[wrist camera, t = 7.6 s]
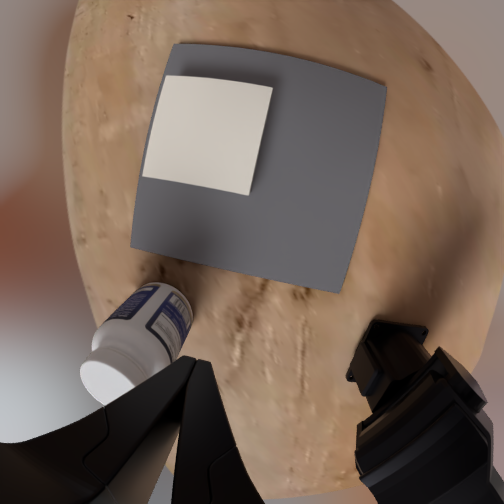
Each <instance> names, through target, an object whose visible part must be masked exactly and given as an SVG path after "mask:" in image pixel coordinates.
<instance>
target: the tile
mask: <svg viewBox="0 0 504 504" xmlns="http://www.w3.org/2000/svg"><path fill="white" fill-rule="evenodd" d="M272 92H273V88H272V87H267V86H261V85H256V84H250V83H243V82H237V81H229V80H221V79H213V78H202V77H189V76H169V75H166V77H165V81H164V84H163V88H162V91H161V95H160V98H159V102H158V106H157V109H156V113H155V117H154V121H153V126H152V130H151V134H150V139H149V143H148V148H147V153H146V158H145V164H144V169H143V175H142V176H144V177H150V178H157V179H163V180H169V181H175V182H181V183H186V184H192V185H197V186H203V187H208V188H213V189H218V190H223V191H228V192H233V193H238V194H243V195H248V196H249V195H250V192H251V187H252V182H253V178H254V173H255V169H256V164H257V160H258V155H259V151H260V146H261V142H262V138H263V133H264V129H265V124H266V120H267V116H268V111H269V107H270V103H271V98H272Z"/></svg>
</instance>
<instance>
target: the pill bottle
mask: <svg viewBox="0 0 504 504" xmlns="http://www.w3.org/2000/svg"><path fill="white" fill-rule="evenodd" d="M192 322H193V314H192V309H191V306H190V304H189V302H188V300H187V299H186V297H185V296H184V295H183V294H182V293H181V292H180V291H179V290H177V289H176V288H174V287H172V286H170V285H168V284H165V283H159V282H154V283H148V284H145V285H143V286H142V287H140V288H139V289H138V290H136V291H135V292H134V293H133V294H132V295H131V296H130V297H129V298H128V299H127V300H126V301H125V302H124V303H123V304H122V305H121V306H120V307H119V308H118V309H117V310H116V311H115V312H114V313H113V314H112V315H111V316H110V317H109V318H108V319H107V320H106V321H105V322H104V323H103V324H102V325H101V326H100V327H99V328H98V329H97V331H96V332H95V334H94V337H93V340H92V352H91V353H90V355H89V356H88V357H87V358H86V360H85V361H84V362H83V363H82V365H81V368H80V376H81V379H82V382H83V384H84V386H85V387H86V389H87V390H88V391H89V393H90V394H91V395H92V396H93V397H94V398H95V399H97V400H98V401H99V402H100V403H102V404H103V405H107V404H108V403H110V402H112V401H113V400H115V399H117V398H118V397H120V396H121V395H123V394H125V393H126V392H128V391H129V390H131V389H133V388H134V387H136V386H137V385H139V384H140V383H142V382H144V381H145V380H147V379H148V378H150V377H151V376H153V375H154V374H156V373H157V372H159V371H161V370H162V369H164V368H165V367H167V366H168V365H170V364H171V363H173V362H174V361H176V359H177V357H178V355H179V352H180V350H181V348H182V346H183V344H184V342H185V339H186V337H187V335H188V333H189V331H190V328H191V326H192Z"/></svg>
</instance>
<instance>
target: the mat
mask: <svg viewBox="0 0 504 504" xmlns="http://www.w3.org/2000/svg"><path fill="white" fill-rule="evenodd" d="M166 75H169V76H189V77H202V78H213V79H221V80H229V81H237V82H243V83H250V84H256V85H261V86H267V87H272V88H273V92H272V98H271V103H270V107H269V111H268V116H267V120H266V124H265V129H264V133H263V138H262V142H261V146H260V151H259V155H258V160H257V164H256V169H255V173H254V178H253V182H252V187H251V192H250V195H249V196H248V195H243V194H238V193H233V192H228V191H223V190H218V189H213V188H208V187H203V186H197V185H192V184H186V183H181V182H175V181H169V180H163V179H157V178H150V177H144V176H142V175H143V169H144V164H145V158H146V153H147V148H148V143H149V139H150V134H151V130H152V126H153V121H154V117H155V113H156V109H157V106H158V102H159V98H160V95H161V91H162V88H163V84H164V81H165V77H166ZM386 92H387V87H386V86H383V85H381V84H378V83H376V82H373V81H371V80H368V79H365V78H363V77H360V76H357V75H354V74H351V73H349V72H346V71H342V70H339V69H336V68H333V67H330V66H326V65H323V64H319V63H315V62H312V61H308V60H304V59H300V58H295V57H291V56H286V55H281V54H276V53H271V52H265V51H259V50H252V49H245V48H237V47H228V46H217V45H201V44H174V45H173V47H172V50H171V53H170V56H169V59H168V62H167V65H166V68H165V71H164V74H163V77H162V81H161V84H160V87H159V91H158V94H157V98H156V102H155V105H154V109H153V113H152V117H151V121H150V125H149V130H148V134H147V139H146V143H145V148H144V153H143V158H142V164H141V169H140V175H139V181H138V187H137V194H136V201H135V208H134V216H133V225H132V235H131V245H130V247H132V248H136V249H140V250H144V251H148V252H152V253H156V254H160V255H164V256H168V257H173V258H177V259H181V260H185V261H190V262H194V263H198V264H202V265H207V266H211V267H216V268H220V269H224V270H229V271H233V272H238V273H242V274H247V275H251V276H256V277H261V278H265V279H270V280H275V281H279V282H284V283H289V284H294V285H298V286H303V287H308V288H313V289H318V290H323V291H328V292H333V293H338V294H339V293H340V291H341V288H342V285H343V282H344V279H345V275H346V272H347V269H348V266H349V263H350V260H351V256H352V253H353V250H354V246H355V243H356V239H357V236H358V232H359V229H360V225H361V221H362V217H363V213H364V210H365V206H366V201H367V197H368V193H369V189H370V184H371V180H372V175H373V171H374V166H375V161H376V156H377V151H378V145H379V140H380V134H381V128H382V121H383V115H384V108H385V100H386Z"/></svg>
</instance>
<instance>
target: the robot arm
mask: <svg viewBox="0 0 504 504" xmlns="http://www.w3.org/2000/svg"><path fill="white" fill-rule="evenodd" d="M376 324H377V326H376V327H374V326H375V325H376ZM423 331H424V332H423ZM427 334H428V329H427V328H426V327H425V326H418V325H411V324H404V323H397V322H390V321H383V320H373V321H372V322H371V323H370V325H369V327H368V329H367V332H366V334H365V336H364V338H363V341H362V342H361V343H360V344H359V346H358V349H357V351H356V353H355V355H354V357H353V359H352V361H351V363H350V368H349V370H348V372H347V374H346V379H347V381H349V382H356V383H357V385H358V388H359V390H360V393H361V395H362V396H366V399H367V401H368V404H369V406H370V409H371V411H372V413H373V414H372V415H371V416H369V417H368V418H367V419H366V420H364V421H361V422H360V423H359V424H358V425H357V436H356V450H355V454H354V455H355V463H356V469H357V470H358V472H359V474H360V477H359V479H360V480H361V481H362V482H363V483H364V484H365V485H366V486H367V487H368V488H369V490H370V491H371V492H372V494H373V495H374V497H375V499H376V500H377V502H378V504H504V481H503V480H502V478H501V477H500V475H499V474H498V472H497V471H496V469H495V468H494V466H493V423H492V421H491V420H490V418H489V417H488V416H487V414H486V413H485V412H484V411H483V409H482V408H483V407H484V406H485V405H486V404H487V403H488V402H487V400H486V398H485V396H484V394H483V392H482V390H481V388H480V386H479V384H478V383H477V381H476V380H475V379H474V378H473V377H472V375H471V374H470V373H469V372H468V371H467V370H466V369H465V368H464V367H463V366H462V365H461V364H460V363H459V362H458V361H457V360H455V359H454V358H453V357H452V356H451V355H449V354H448V353H447V352H446V351H445V350H443V349H442V348H441V347H440V346H439V347H438V348H437V349H436V350H435V351H434V352H435V353H434V354H433V356H431V355H430V354H429V353H428V351H427V350H426V349H425V348H424V347H423V345H422V344H423V342H424V340H425V338H426V336H427ZM350 376H352V377H350ZM178 433H179V438H178V445H177V453H176V462H175V470H174V480H173V489H172V499H171V504H265V503H264V501H263V500H262V498H261V496H260V495H259V493H258V491H257V490H256V488H255V486H254V484H253V482H252V481H251V479H250V477H249V475H248V473H247V471H246V468H245V466H244V463H243V461H242V459H241V456H240V453H239V450H238V448H237V447H236V442H235V439H234V436H233V433H232V430H231V427H230V424H229V421H228V418H227V415H226V412H225V408H224V405H223V402H222V399H221V395H220V392H219V389H218V385H217V382H216V378H215V375H214V371H213V368H212V364H211V362H209V361H205V360H201V359H198V360H196V358H193V357H189V356H185V355H184V356H182V357H180V358H179V359H177V360H176V361H174V362H173V363H171V364H170V365H168V366H167V367H165V368H164V369H162V370H161V371H159V372H157V373H156V374H154V375H153V376H151V377H150V378H148V379H147V380H145V381H144V382H142V383H140V384H139V385H137V386H136V387H134V388H133V389H131V390H129V391H128V392H126V393H125V394H123V395H121V396H120V397H118V398H117V399H115V400H113V401H112V402H110V403H108V404H107V405H105V406H104V407H102V408H100V409H98V410H97V411H95V412H93V413H91V414H90V415H88V416H86V417H84V418H82V419H80V420H78V421H76V422H74V423H72V424H70V425H67V426H65V427H62V428H60V429H57V430H55V431H52V432H49V433H47V434H44V435H41V436H38V437H36V438H33V439H30V440H27V441H23V442H18V443H1V442H0V504H148V501H149V499H150V497H151V494H152V492H153V490H154V488H155V485H156V483H157V481H158V478H159V476H160V474H161V472H162V469H163V467H164V465H165V463H166V460H167V458H168V456H169V454H170V451H171V449H172V447H173V444H174V442H175V440H176V438H177V435H178Z"/></svg>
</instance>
